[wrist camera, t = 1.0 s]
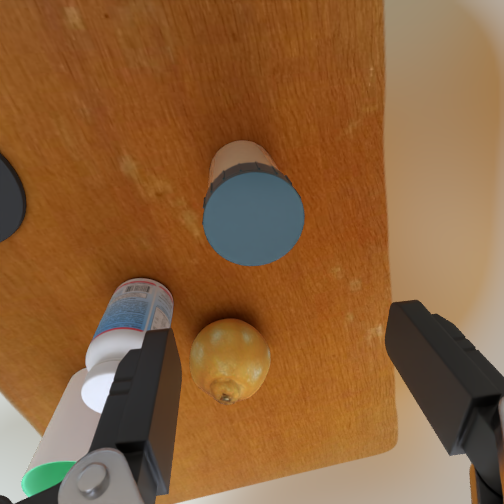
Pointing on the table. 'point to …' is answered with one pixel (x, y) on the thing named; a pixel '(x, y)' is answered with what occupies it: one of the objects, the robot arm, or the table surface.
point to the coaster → (10, 200)
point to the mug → (62, 439)
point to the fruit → (229, 360)
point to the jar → (238, 157)
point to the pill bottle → (123, 333)
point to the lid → (252, 214)
